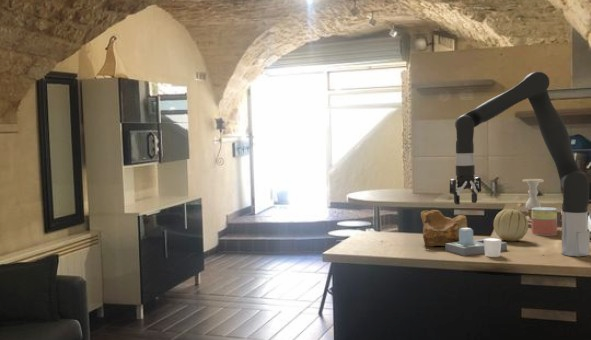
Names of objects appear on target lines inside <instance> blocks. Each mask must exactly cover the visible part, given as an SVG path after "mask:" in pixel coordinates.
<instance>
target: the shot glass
mask: <svg viewBox="0 0 591 340" xmlns="http://www.w3.org/2000/svg"><path fill="white" fill-rule="evenodd" d="M482 239H483V240H484V250H485V253H484V256H485V257H488V258H490V257H491V258H497V257H500V256H501V252H502V251H501V242H502V239H501V238H496V237H486V238H482Z"/></svg>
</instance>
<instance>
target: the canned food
mask: <svg viewBox="0 0 591 340" xmlns="http://www.w3.org/2000/svg"><path fill="white" fill-rule="evenodd" d="M531 209H532V228H531V235H536V236H541V237H542V236H544V237H547V236H548V237H550V236H552V237H553V236H557V235H558V231H557V230H558V227H557V226H558V209H557V208H555V207H549V206H546V207H545V206H541V207H534V208H531Z"/></svg>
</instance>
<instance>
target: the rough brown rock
mask: <svg viewBox="0 0 591 340" xmlns="http://www.w3.org/2000/svg"><path fill="white" fill-rule="evenodd" d="M420 218H421V220H422V238H423V242H424V244H423V245H424V247H430V248H431V247H432V248H433V247H435V246H436V247H437V246H441V247H445V243H452V242H459V230H460V228H469V227H468V221H467V220H468V219H467V216H466V215H464V214H458V215H457V216H455V217H452V218H451V217H448V216H445V215H443V213H442V212H441V211H440V210H437V209H431V210H427V209H426V210H423V211H421V212H420Z"/></svg>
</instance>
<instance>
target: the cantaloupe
mask: <svg viewBox="0 0 591 340" xmlns="http://www.w3.org/2000/svg"><path fill="white" fill-rule="evenodd" d="M526 216H527V215H525V214H524V213H523V212H522V211H520V210H517V209H516V208H515V207H512V208H505V209H502V210H501V211H499V212H497V214H496V216H495V218H494V219H493V230H494V233H495V234H496V235H497V237H499V239H501V240H504V242H505V241H506V242H516V241H519V240H521V239H523V238H524V237H525V236H526V234H527V233H528V230H529V227H528V220H527V218H526Z"/></svg>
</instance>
